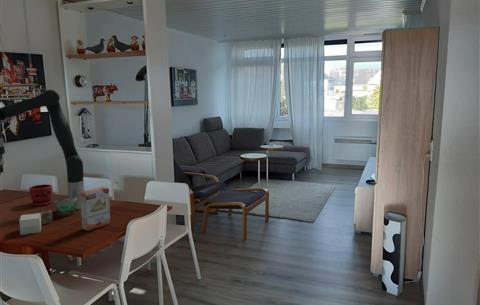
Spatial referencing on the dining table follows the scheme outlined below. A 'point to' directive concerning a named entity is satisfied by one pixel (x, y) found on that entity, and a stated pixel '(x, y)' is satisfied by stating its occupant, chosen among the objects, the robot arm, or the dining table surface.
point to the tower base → (30, 230)
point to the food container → (66, 207)
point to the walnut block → (46, 217)
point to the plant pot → (41, 194)
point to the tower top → (30, 220)
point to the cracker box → (95, 208)
